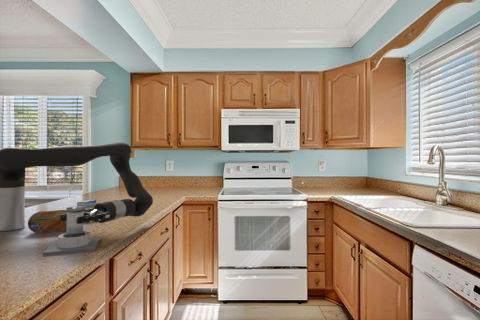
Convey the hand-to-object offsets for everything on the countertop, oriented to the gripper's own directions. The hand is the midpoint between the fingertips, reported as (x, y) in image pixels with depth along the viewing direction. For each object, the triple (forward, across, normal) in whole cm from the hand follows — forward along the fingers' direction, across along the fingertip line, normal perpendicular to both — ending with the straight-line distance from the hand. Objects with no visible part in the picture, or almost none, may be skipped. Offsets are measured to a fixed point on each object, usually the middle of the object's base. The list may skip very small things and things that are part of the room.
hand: (69, 219), depth 92 cm
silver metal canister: (-2, 0, +8) cm, 9 cm away
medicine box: (-32, -34, +10) cm, 47 cm away
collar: (-2, 0, +10) cm, 10 cm away
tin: (-11, -26, +10) cm, 30 cm away
